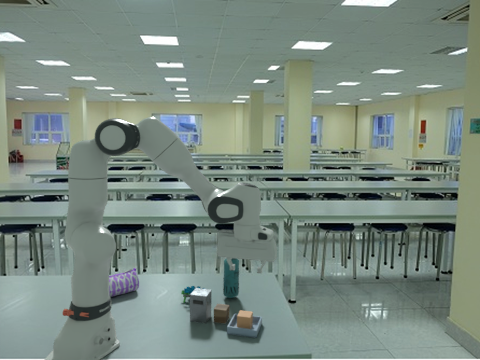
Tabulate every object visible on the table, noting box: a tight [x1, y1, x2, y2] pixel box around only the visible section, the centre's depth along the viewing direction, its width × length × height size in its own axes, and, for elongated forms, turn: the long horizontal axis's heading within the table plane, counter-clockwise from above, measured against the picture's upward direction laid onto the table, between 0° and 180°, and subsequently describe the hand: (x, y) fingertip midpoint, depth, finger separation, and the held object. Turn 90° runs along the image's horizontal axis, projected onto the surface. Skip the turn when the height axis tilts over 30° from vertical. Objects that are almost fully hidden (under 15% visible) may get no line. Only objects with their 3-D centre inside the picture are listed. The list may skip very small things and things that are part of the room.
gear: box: [180, 285, 207, 304], centre depth 156 cm, size 11×6×10 cm
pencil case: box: [109, 267, 140, 298], centre depth 161 cm, size 22×9×10 cm, turn 132°
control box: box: [189, 287, 212, 324], centre depth 142 cm, size 7×6×10 cm
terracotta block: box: [237, 309, 254, 329], centre depth 135 cm, size 4×4×5 cm
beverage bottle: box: [222, 257, 240, 299], centre depth 159 cm, size 6×7×20 cm
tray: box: [226, 313, 263, 339], centre depth 136 cm, size 10×10×3 cm
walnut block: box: [213, 303, 230, 325], centre depth 142 cm, size 4×4×5 cm
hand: (245, 271), depth 133 cm, fingers open, 8 cm apart
